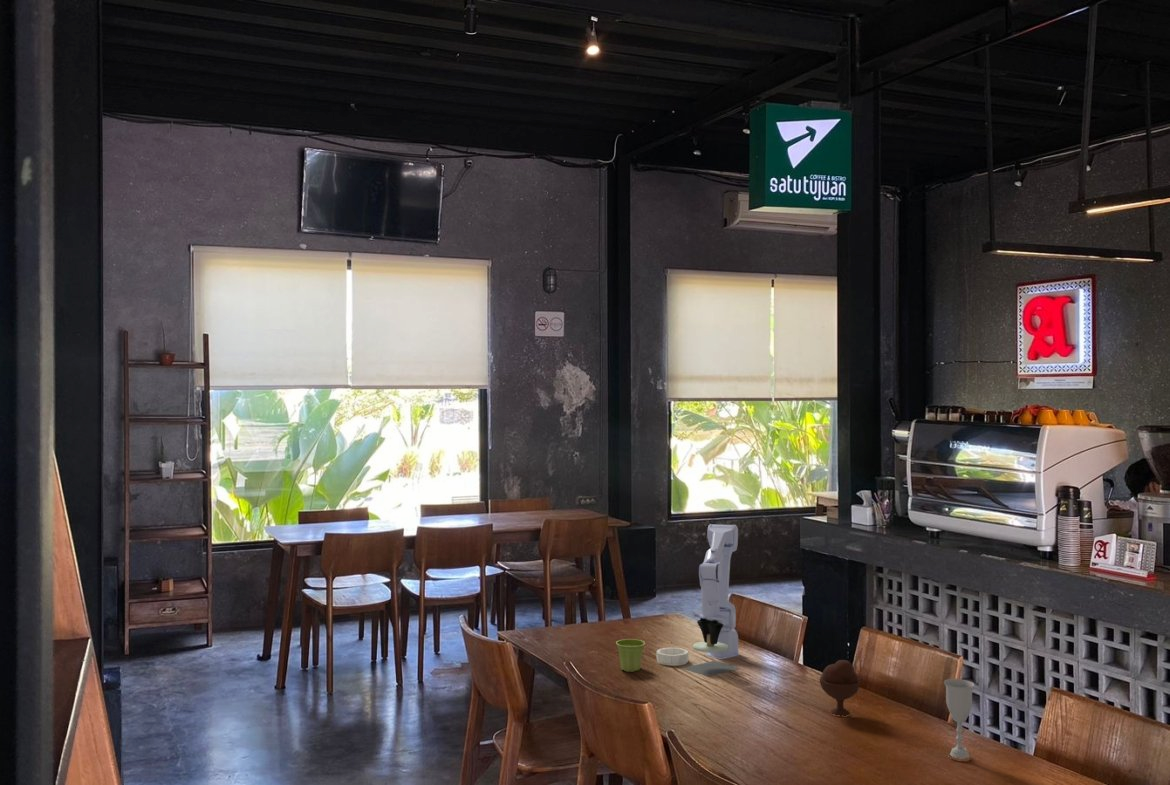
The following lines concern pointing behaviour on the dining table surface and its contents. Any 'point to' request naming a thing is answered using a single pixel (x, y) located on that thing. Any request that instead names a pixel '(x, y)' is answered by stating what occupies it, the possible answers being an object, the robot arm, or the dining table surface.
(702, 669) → the mat
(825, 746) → the dining table surface
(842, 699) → the ice cream bowl
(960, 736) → the chalice
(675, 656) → the bowl
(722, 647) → the lid
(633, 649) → the plant pot
